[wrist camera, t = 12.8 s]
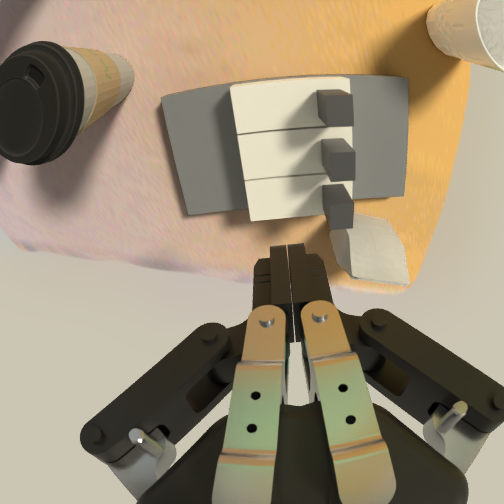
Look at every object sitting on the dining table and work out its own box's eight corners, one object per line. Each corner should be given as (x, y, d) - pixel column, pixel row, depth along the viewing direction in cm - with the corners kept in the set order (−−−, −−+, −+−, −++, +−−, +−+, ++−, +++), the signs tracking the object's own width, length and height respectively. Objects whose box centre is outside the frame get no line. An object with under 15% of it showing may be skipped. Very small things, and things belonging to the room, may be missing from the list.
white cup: (410, 33, 22) (463, 31, 14) (434, -15, 18) (489, -27, 9) (461, 75, 24) (519, 92, 15) (484, 29, 19) (541, 35, 11)
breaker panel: (166, 95, 27) (131, 111, 20) (399, 76, 25) (446, 88, 17) (192, 206, 35) (172, 254, 27) (397, 188, 33) (431, 231, 25)
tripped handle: (320, 139, 25) (329, 153, 22) (343, 137, 25) (355, 151, 21) (322, 164, 26) (330, 182, 23) (343, 163, 26) (355, 180, 23)
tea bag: (337, 208, 35) (359, 261, 26) (387, 219, 35) (418, 271, 27) (328, 234, 37) (345, 291, 29) (376, 243, 37) (402, 298, 29)
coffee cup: (160, 46, 24) (82, 45, 12) (137, 129, 29) (61, 187, 17) (84, 35, 23) (-15, 44, 10) (67, 113, 28) (-23, 161, 16)
